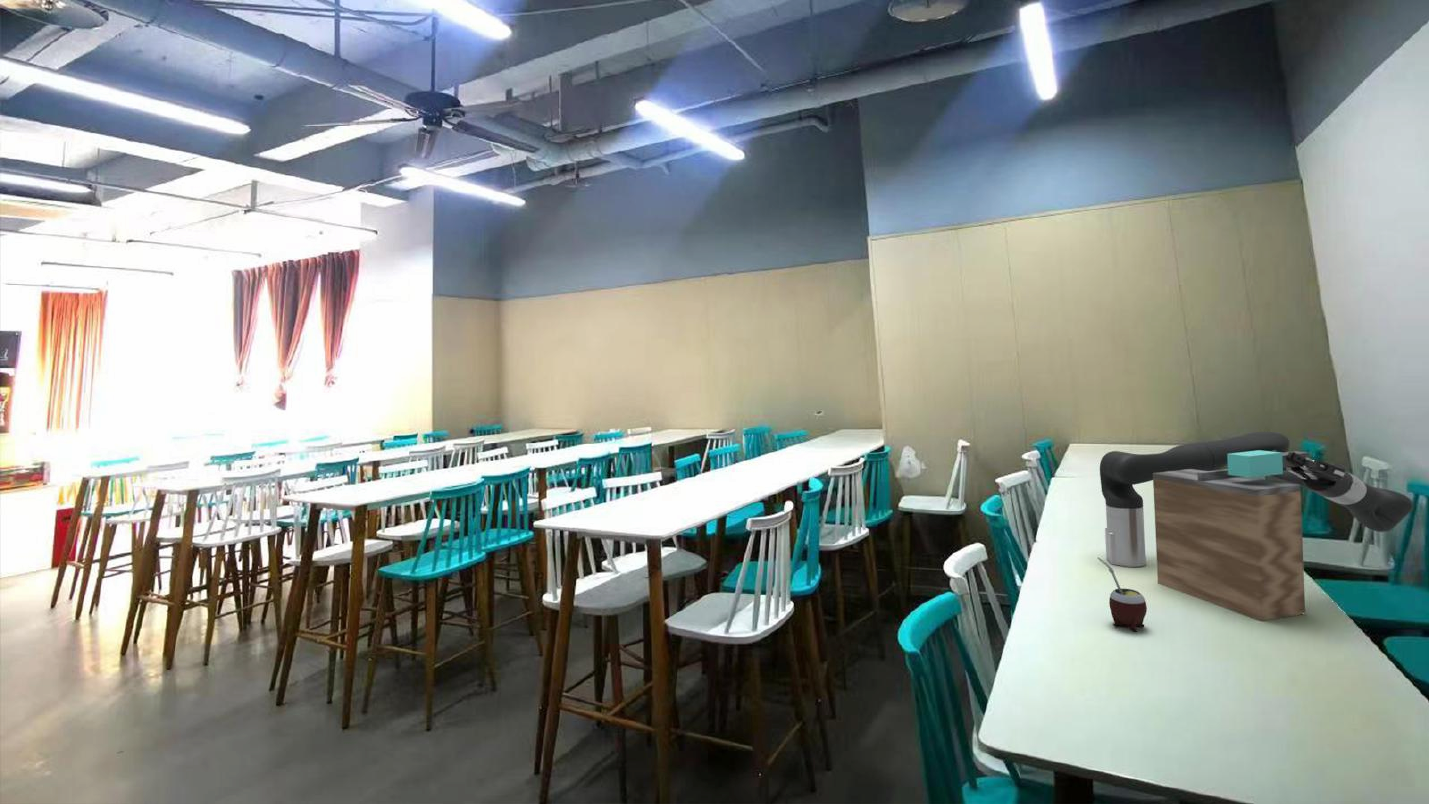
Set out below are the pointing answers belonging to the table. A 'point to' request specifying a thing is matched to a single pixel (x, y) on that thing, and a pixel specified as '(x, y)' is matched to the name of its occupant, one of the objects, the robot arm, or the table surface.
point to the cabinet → (1231, 541)
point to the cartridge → (1259, 463)
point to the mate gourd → (1126, 606)
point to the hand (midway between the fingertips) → (1281, 454)
